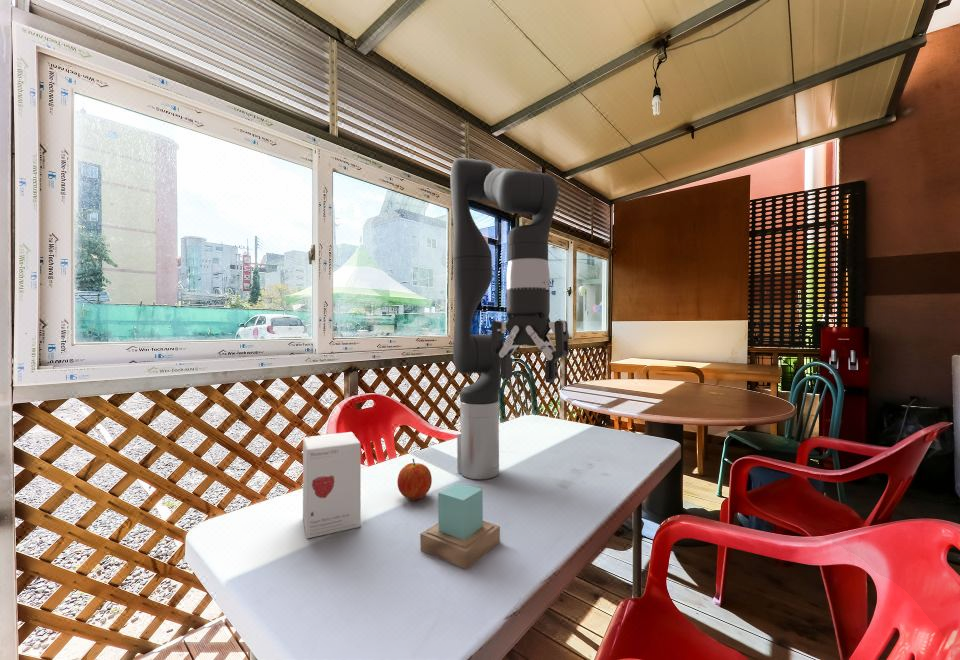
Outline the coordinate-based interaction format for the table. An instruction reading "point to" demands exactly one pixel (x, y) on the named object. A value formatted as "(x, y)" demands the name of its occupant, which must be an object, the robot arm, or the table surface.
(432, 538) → the walnut base
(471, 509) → the teal block
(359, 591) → the table surface
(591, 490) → the table surface
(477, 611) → the table surface
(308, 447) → the supplement box
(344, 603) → the table surface
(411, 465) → the fruit
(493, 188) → the robot arm
